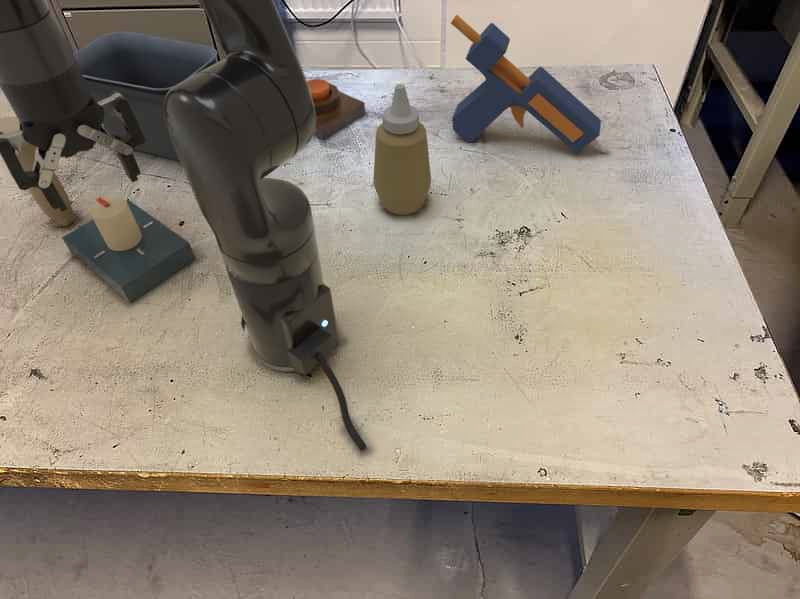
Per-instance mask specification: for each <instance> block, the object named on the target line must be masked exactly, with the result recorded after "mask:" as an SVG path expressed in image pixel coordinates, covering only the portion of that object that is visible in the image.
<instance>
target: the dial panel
mask: <svg viewBox="0 0 800 599" xmlns="http://www.w3.org/2000/svg"><path fill="white" fill-rule="evenodd" d="M125 200H126V201H127V203H128V206H129V208H130V210H131V212H132V214H133V216H134V218H135V220H136V223H137V225H138V227H139V229H140V231H141V233H142V239H141V241H140V242H139V243H138V244H137V245H136V246H135V247H133V248H131V249H129V250H125V251H113V250H111V249H110V248H108V246H107V244H106V242H105V241H104V239H103V237H102V235H101V233H100V231H99V229H98V227H97V226H96V224H95V222H94V220H93V219H91V220H90V221H88V222H86V223H84V224H82V225H81V226H79V227H78V228H75V229H74V230H72V231H70V232H69V233H67V234H65V235H64V236H62V237H61V239H62V241H63V242H64V244H65V246H66V247H67V249H68V250H69V252H70V254H71V255H72V256H73V257H75V258H76V259H77V260H78V261H79V262H81V263H82V264H83V265H84V266H86V268H88V269H89V270H90V271H91V272H93V273H94V274H95V275H96V276H97V277H99V278H100V279H101V280H102V281H103V282H104V283H105V284H107V285H108V286H109V287H111V288H112V289H113V290H114V291H115V293H117V294H119V295H120V296H121V297H122V298H123V299H124V300H126V301H127V302H128V303H130V304H131V303H133V302H134V301H136V300H138V298H140V297H141V296H143V295H145V294H146V293H147V292H149V291H150V290H152V289H154V288H155V287H156V286H158V285H159V284H161V283H162V282H164V281H166V280H167V279H168V278H170V277H171V276H172V275H174V274H175V273H177V272H178V271H180V270H181V269H183V268H184V267H186V266H187V265H189V264H191V263H192V262H193V261H195V260H196V256H195V254H194V252H193V251H194V250H193V249H192V247H191V244H190V242H189V241H187V240H186V239H185V238H183V237H182V236H181V235H179V234H177V233H176V232H175V231H174V230H172V229H171V228H169V227H168V226H166V225H165V224H164V223H162V222H161V221H159V220H158V219H156V217H153V215H151V214H150V213H148V212H147V211H145V209H142V208H141V207H139V205H136V204H135V203H134V202H132V201H131V200H130V199H125Z"/></svg>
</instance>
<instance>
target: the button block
mask: <svg viewBox="0 0 800 599" xmlns="http://www.w3.org/2000/svg"><path fill="white" fill-rule="evenodd" d="M328 83H329V88H330V97H329V98H327V99H325V100H322V101H317V102H316V101H313V104H314V109H315V115H316V129H315V134H314V136H313V137H317V138H318V139H321V140H322V141H325V140H327V139H329V138H330V137H332V136H333V135H334V134H336V133H338V132H340V131H341V130H342V129H344V128H346V127H347V126H349V125H350V124H352V123H354V122H355V121H357V120H358V119H359V118H361V117H362V116H364V115H366V104H365V102H364V101H363V100H360V99H357V98H356V97H353V96H351V95H348V94H346V93H344V92H342V91H340V90H339V89H338V87H337V85H334V84H332V83H330V82H328Z"/></svg>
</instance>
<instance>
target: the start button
mask: <svg viewBox="0 0 800 599" xmlns="http://www.w3.org/2000/svg"><path fill="white" fill-rule="evenodd" d="M306 81H307V83H308V86H309V89H310V92H311V96H312V100H313V101H316V102H317V101H322V100H325V99H327V98H329V97H330V88H329V83H330V82H328V81H327V80H325V79H321V78H314V79H313V78H312V79H309V80H306Z"/></svg>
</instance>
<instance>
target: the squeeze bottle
mask: <svg viewBox="0 0 800 599" xmlns="http://www.w3.org/2000/svg"><path fill="white" fill-rule="evenodd" d="M381 117H382V118H381V119H382V123H381V124H379V125H378V127H377V128H376V130H375V131H376V132H375V143H374V144H375V145H374V161H373V162H374V163H373V182H372V184H373V187H374V189H375V192H376V194H377V196H378V198H379V199H380V202H381V204H382V207H383V208H384V209H385V210H386V211H387V212H388V213H391V214H394V215H401V216H406V215H410V214H411V215H412V214H414V213H415V212H418V211H419V210H421V208H422V206H423V205H424V203H425V201H426V198H427V195H428V193H429V191H430V189H431V186H432V184H431V183H432V175H431V164H430V156H429V145H428V135H427V129H426V127H425V126H424V124H423V123H421V122H420V112H419V110H418V108H416V107H415V106H413V105H410V101H409V98H408V93H407V89H406V85H405V84H403V83H397V84H395V86H394V91H393V95H392V102H391V105H390V106H387V107H386V108H385V109H384V110H383V111H382V114H381Z"/></svg>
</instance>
